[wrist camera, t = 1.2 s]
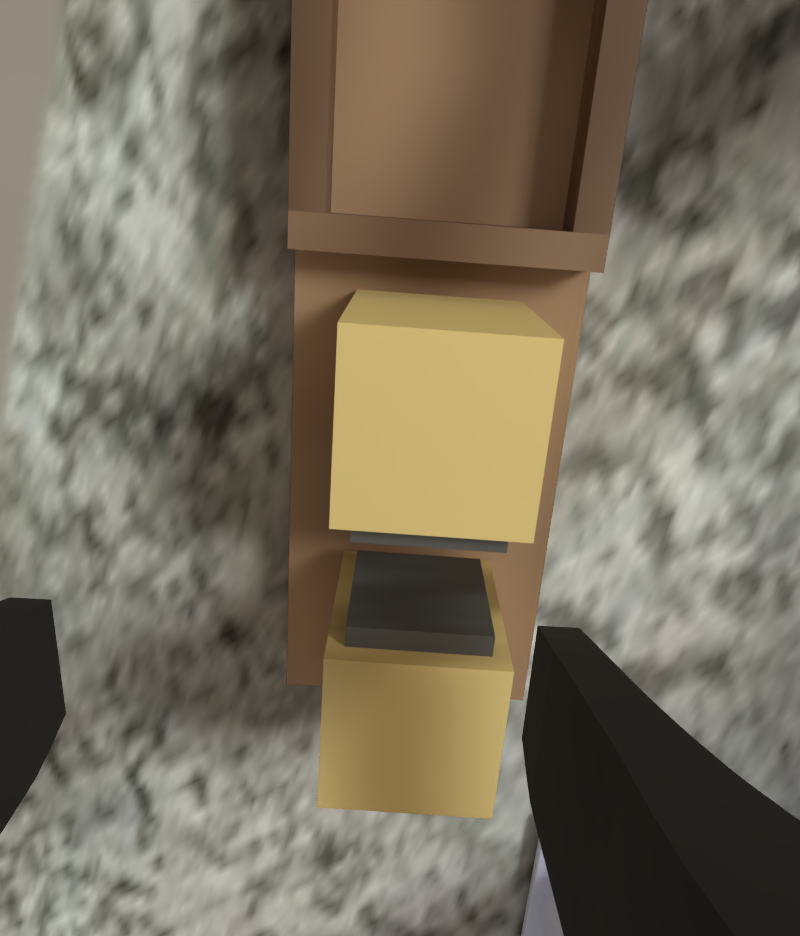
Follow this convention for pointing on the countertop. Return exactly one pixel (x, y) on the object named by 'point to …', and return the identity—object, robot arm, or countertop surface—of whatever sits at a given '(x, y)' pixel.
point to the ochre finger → (441, 420)
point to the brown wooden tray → (444, 274)
